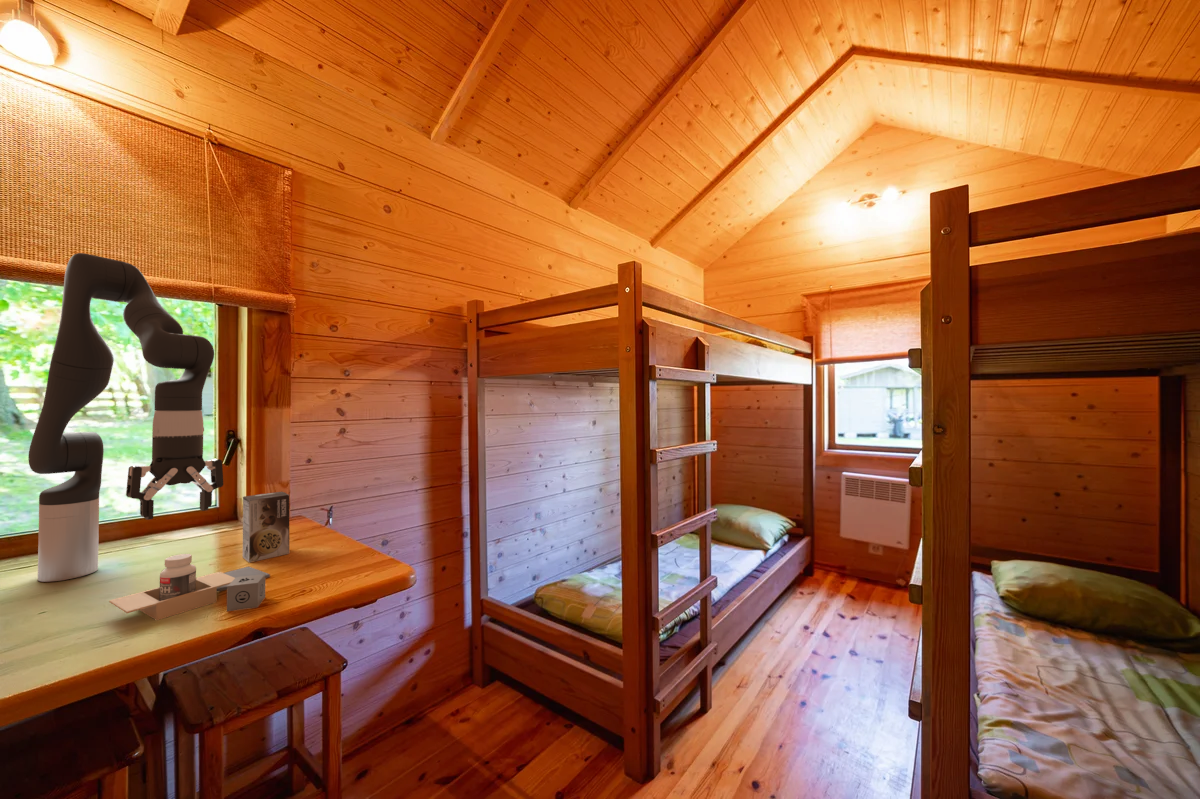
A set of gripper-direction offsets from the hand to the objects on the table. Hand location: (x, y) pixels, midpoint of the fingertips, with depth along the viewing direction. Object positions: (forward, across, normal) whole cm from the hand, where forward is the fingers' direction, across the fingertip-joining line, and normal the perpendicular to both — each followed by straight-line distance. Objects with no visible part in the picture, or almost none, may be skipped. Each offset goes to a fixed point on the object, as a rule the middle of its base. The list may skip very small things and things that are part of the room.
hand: (177, 514), depth 92 cm
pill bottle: (+19, 0, 0) cm, 19 cm away
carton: (+18, 0, 0) cm, 18 cm away
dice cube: (+19, -8, +11) cm, 23 cm away
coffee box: (+18, -24, -18) cm, 36 cm away
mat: (+18, -12, -6) cm, 23 cm away
